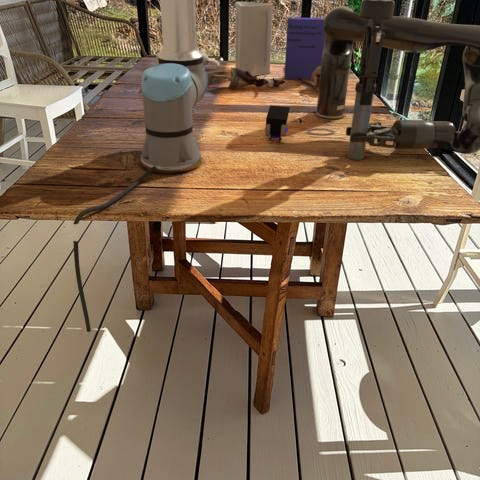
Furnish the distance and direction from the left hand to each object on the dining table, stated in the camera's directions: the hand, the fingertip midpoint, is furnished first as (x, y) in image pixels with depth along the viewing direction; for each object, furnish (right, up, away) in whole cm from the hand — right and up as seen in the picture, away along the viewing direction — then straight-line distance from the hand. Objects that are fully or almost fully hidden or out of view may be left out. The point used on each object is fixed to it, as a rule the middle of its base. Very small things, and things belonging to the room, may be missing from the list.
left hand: (363, 101), depth 121 cm
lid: (0, +3, -2) cm, 4 cm away
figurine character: (-21, -4, +21) cm, 30 cm away
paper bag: (-25, +41, +97) cm, 108 cm away
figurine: (-28, +26, +71) cm, 81 cm away
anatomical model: (+1, +25, +71) cm, 76 cm away
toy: (-56, +46, +104) cm, 126 cm away
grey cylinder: (0, -13, +8) cm, 15 cm away
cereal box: (-3, +35, +87) cm, 94 cm away
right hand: (-3, -7, +4) cm, 9 cm away
